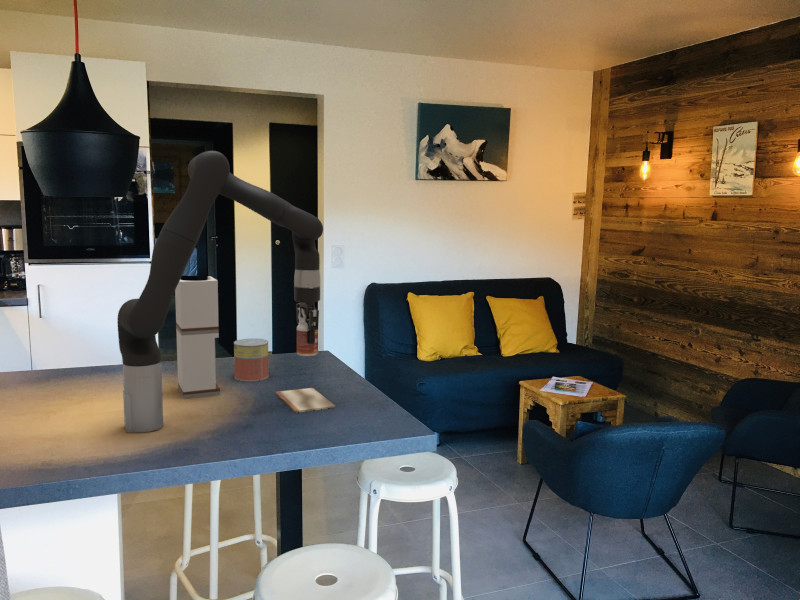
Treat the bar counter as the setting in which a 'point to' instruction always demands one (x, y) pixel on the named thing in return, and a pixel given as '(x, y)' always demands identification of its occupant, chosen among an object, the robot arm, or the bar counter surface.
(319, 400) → the board
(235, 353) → the canned food
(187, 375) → the white square tower
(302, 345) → the pill bottle
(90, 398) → the bar counter surface
